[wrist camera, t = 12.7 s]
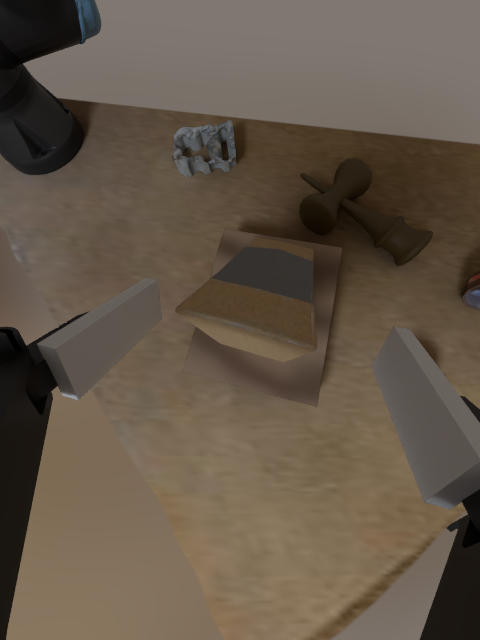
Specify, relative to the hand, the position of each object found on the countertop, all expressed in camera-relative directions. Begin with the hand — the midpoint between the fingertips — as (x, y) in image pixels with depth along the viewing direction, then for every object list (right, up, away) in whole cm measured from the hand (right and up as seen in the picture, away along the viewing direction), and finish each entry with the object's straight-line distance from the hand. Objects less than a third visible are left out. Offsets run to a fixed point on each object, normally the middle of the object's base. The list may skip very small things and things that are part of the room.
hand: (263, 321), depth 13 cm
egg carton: (-7, +29, +27) cm, 40 cm away
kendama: (+15, +15, +22) cm, 31 cm away
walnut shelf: (+2, +1, +19) cm, 19 cm away
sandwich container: (+2, +3, +16) cm, 16 cm away
